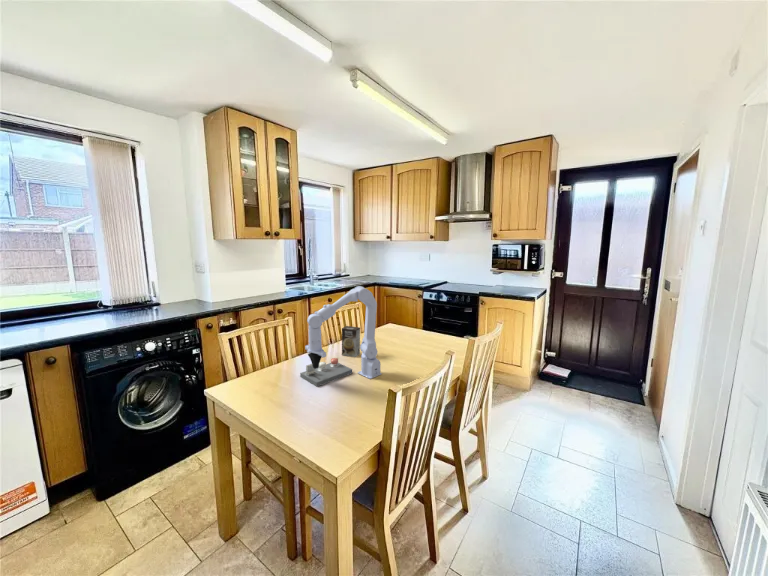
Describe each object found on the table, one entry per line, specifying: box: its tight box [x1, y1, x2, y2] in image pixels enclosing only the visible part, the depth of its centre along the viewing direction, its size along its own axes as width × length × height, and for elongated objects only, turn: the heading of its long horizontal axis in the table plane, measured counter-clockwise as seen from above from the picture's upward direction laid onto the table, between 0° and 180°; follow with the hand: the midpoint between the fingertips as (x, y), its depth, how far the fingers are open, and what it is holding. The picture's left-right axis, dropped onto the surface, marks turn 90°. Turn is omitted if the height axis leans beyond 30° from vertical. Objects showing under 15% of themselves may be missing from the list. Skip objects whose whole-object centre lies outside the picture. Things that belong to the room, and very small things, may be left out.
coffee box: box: [341, 325, 361, 358], centre depth 179 cm, size 9×6×16 cm
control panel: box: [299, 362, 353, 388], centre depth 153 cm, size 14×21×2 cm, turn 135°
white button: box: [319, 361, 327, 369], centre depth 154 cm, size 4×4×2 cm
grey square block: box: [304, 363, 316, 376], centre depth 149 cm, size 3×4×4 cm
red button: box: [330, 357, 339, 364], centre depth 159 cm, size 4×4×2 cm
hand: (315, 367), depth 145 cm, fingers closed
